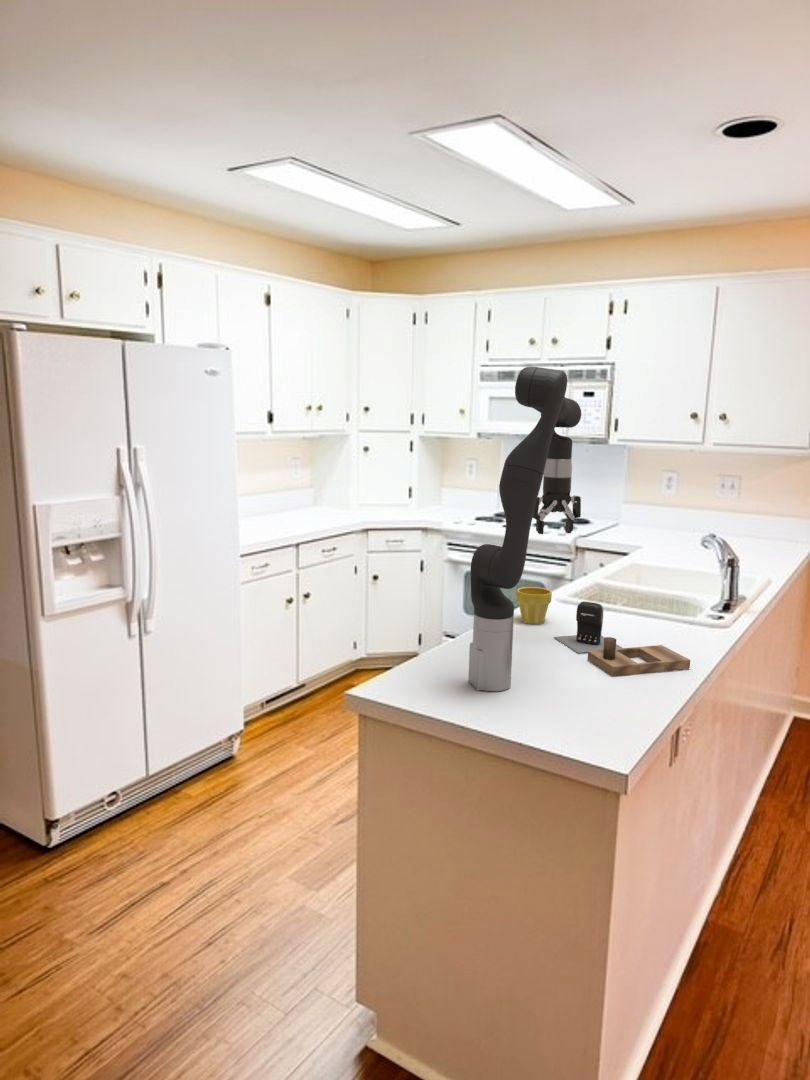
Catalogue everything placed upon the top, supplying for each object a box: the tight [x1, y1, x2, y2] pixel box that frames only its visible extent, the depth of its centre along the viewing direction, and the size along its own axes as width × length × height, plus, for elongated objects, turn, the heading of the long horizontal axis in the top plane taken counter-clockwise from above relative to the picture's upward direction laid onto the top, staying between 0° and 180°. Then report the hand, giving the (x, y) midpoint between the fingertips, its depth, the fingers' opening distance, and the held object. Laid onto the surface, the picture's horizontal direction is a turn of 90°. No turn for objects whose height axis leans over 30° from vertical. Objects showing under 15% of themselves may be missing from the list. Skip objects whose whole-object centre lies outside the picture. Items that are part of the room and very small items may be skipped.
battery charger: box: [575, 600, 604, 645], centre depth 203 cm, size 7×4×11 cm, turn 60°
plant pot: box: [516, 586, 553, 625], centre depth 224 cm, size 10×10×10 cm
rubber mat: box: [553, 634, 623, 655], centre depth 204 cm, size 14×14×1 cm
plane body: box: [587, 636, 691, 677], centre depth 188 cm, size 22×12×8 cm, turn 106°
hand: (554, 533), depth 204 cm, fingers open, 8 cm apart
